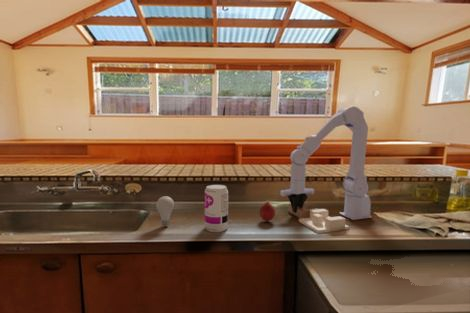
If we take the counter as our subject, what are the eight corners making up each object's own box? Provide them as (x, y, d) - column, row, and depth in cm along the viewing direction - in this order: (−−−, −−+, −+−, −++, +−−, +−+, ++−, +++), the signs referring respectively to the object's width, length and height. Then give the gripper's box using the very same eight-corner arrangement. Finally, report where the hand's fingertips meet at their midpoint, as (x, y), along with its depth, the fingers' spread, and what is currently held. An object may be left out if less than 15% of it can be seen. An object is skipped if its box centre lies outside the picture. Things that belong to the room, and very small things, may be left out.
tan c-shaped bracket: (304, 209, 112) (305, 202, 112) (319, 217, 103) (319, 209, 102) (288, 211, 110) (288, 203, 110) (301, 219, 100) (302, 210, 100)
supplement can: (210, 234, 85) (210, 190, 83) (201, 226, 92) (201, 185, 91) (231, 230, 89) (232, 188, 87) (221, 222, 96) (222, 183, 94)
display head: (327, 218, 102) (327, 208, 102) (349, 229, 91) (349, 218, 90) (298, 221, 98) (299, 211, 98) (317, 233, 87) (318, 221, 86)
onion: (274, 225, 94) (274, 203, 93) (258, 223, 95) (258, 202, 94) (274, 219, 100) (275, 199, 99) (260, 218, 101) (260, 198, 100)
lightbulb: (177, 224, 94) (177, 195, 93) (168, 230, 88) (167, 199, 87) (163, 222, 96) (162, 193, 95) (153, 228, 90) (152, 197, 89)
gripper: (307, 176, 110) (306, 207, 111) (277, 178, 105) (276, 210, 107) (317, 179, 103) (316, 212, 104) (285, 181, 99) (284, 215, 100)
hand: (296, 211), depth 105 cm, fingers closed on tan c-shaped bracket, 2 cm apart
